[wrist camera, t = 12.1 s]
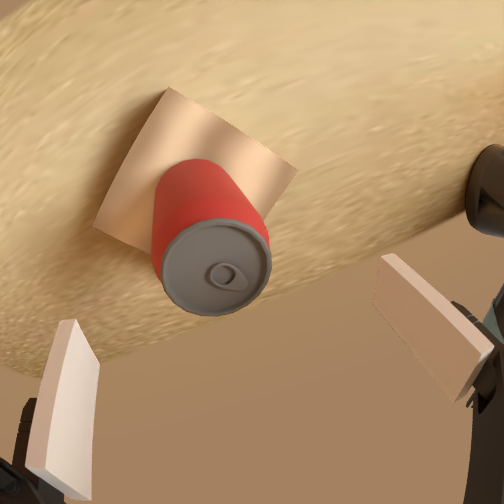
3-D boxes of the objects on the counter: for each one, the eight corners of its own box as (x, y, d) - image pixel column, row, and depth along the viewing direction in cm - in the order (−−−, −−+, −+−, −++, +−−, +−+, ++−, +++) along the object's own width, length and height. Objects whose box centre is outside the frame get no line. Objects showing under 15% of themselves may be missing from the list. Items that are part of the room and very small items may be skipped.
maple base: (282, 160, 30) (298, 170, 27) (211, 264, 34) (217, 285, 30) (168, 88, 24) (168, 86, 21) (99, 210, 28) (91, 226, 24)
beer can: (203, 245, 28) (230, 340, 18) (139, 207, 25) (125, 292, 14) (249, 186, 26) (307, 253, 16) (185, 141, 23) (202, 180, 13)
